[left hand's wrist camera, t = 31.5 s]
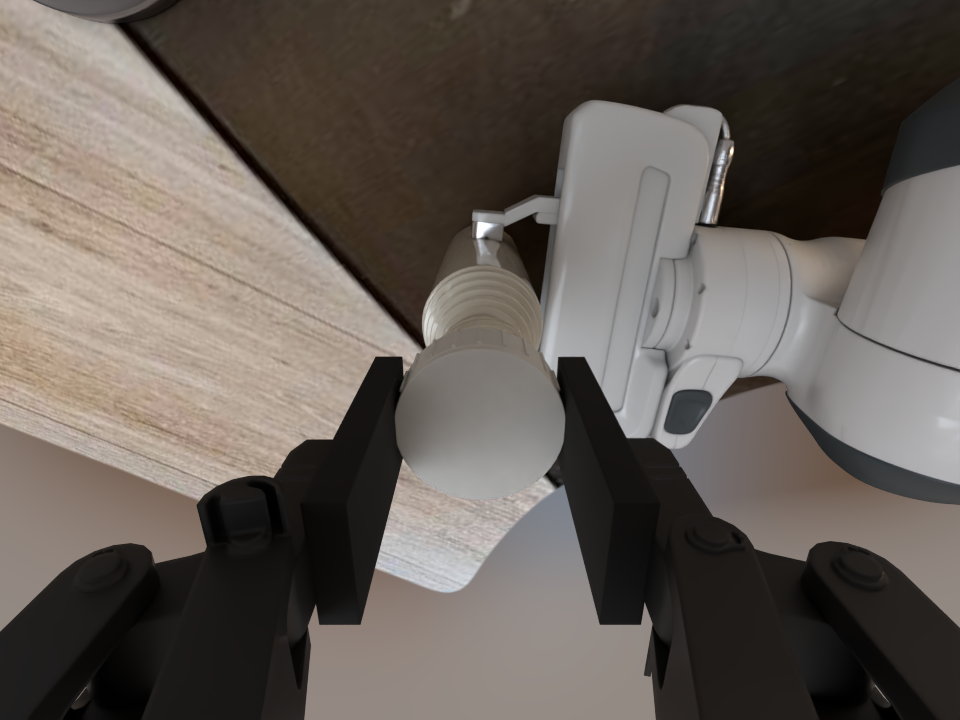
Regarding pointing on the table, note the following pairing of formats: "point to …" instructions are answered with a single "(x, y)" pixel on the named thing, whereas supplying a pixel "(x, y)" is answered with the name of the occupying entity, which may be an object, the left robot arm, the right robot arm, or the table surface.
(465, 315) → the bottle
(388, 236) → the table surface
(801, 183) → the table surface
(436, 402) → the cap
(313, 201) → the table surface
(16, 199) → the table surface
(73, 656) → the left robot arm
